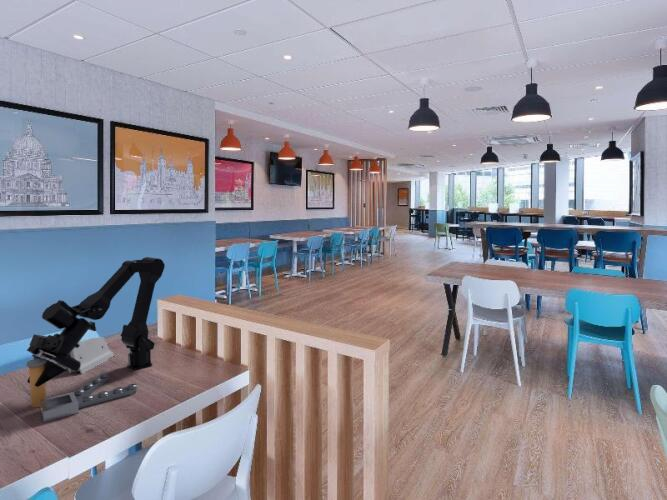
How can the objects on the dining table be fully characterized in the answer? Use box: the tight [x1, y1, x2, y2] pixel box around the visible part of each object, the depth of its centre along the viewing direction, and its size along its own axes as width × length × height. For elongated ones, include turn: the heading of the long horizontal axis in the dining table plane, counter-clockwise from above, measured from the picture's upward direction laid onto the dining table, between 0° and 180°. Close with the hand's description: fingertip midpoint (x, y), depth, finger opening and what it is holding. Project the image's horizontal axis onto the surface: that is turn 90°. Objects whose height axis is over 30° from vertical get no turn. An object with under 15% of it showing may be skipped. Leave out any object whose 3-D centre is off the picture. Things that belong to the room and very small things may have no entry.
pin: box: [25, 358, 47, 408], centre depth 118 cm, size 5×5×13 cm
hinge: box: [67, 336, 115, 375], centre depth 147 cm, size 17×5×10 cm, turn 170°
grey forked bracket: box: [39, 371, 138, 423], centre depth 125 cm, size 24×19×3 cm
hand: (32, 384), depth 116 cm, fingers closed on pin, 4 cm apart
